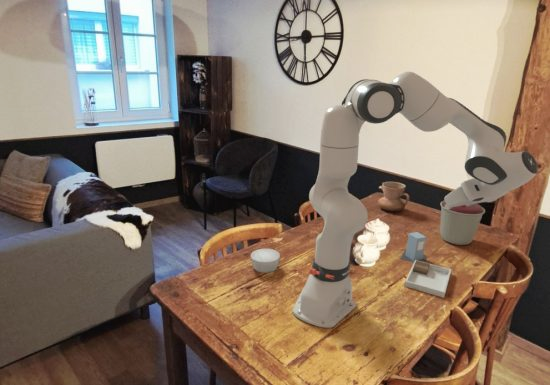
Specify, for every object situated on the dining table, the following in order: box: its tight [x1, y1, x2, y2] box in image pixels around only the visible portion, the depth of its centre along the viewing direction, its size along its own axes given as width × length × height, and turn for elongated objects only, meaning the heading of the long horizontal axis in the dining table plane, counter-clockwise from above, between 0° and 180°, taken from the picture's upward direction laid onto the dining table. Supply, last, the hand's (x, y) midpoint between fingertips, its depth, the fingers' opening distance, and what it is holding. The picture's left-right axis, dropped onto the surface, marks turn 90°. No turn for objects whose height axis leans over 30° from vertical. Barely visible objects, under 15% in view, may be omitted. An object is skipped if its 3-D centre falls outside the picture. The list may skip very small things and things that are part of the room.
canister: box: [439, 200, 486, 246], centre depth 168 cm, size 18×18×21 cm
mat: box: [399, 249, 428, 263], centre depth 153 cm, size 9×9×1 cm
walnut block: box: [413, 260, 431, 275], centre depth 143 cm, size 5×5×2 cm
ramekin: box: [250, 248, 281, 274], centre depth 144 cm, size 11×11×5 cm
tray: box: [404, 260, 452, 298], centre depth 137 cm, size 18×13×3 cm
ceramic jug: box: [377, 181, 410, 212], centre depth 204 cm, size 18×14×14 cm
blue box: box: [405, 231, 427, 261], centre depth 152 cm, size 5×4×10 cm
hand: (457, 205), depth 129 cm, fingers open, 8 cm apart
